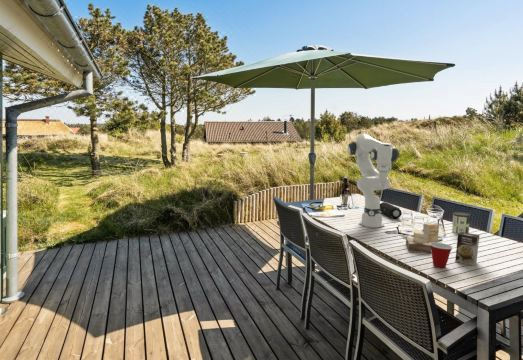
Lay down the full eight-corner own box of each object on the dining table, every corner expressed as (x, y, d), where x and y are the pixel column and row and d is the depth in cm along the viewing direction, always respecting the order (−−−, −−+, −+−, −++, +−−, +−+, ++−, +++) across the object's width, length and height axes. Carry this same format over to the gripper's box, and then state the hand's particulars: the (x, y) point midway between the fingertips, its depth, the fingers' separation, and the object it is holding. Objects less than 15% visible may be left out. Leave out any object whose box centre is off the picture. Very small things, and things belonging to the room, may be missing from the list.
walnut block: (405, 244, 194) (406, 237, 194) (426, 246, 191) (426, 239, 190) (408, 251, 183) (409, 243, 182) (430, 253, 179) (431, 245, 179)
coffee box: (454, 261, 167) (457, 233, 165) (457, 258, 171) (460, 231, 169) (474, 266, 160) (477, 237, 158) (477, 262, 165) (479, 234, 163)
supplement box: (427, 244, 193) (429, 225, 191) (421, 242, 198) (423, 223, 196) (438, 243, 195) (439, 224, 193) (432, 241, 200) (433, 222, 198)
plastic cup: (453, 265, 162) (454, 244, 160) (449, 272, 154) (450, 249, 152) (430, 260, 169) (432, 239, 167) (425, 266, 161) (427, 244, 159)
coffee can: (462, 230, 222) (463, 211, 220) (472, 234, 211) (473, 215, 209) (448, 230, 221) (449, 212, 220) (457, 235, 211) (459, 215, 209)
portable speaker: (377, 212, 278) (378, 201, 276) (387, 212, 278) (388, 201, 277) (391, 219, 253) (391, 208, 251) (402, 219, 253) (403, 207, 252)
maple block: (413, 239, 189) (413, 230, 188) (422, 240, 187) (422, 231, 186) (414, 242, 185) (414, 233, 184) (423, 243, 183) (423, 233, 182)
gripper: (379, 166, 210) (378, 185, 212) (378, 168, 192) (377, 190, 194) (389, 166, 208) (388, 185, 210) (388, 169, 189) (387, 190, 191)
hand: (383, 188), depth 202 cm, fingers open, 8 cm apart
